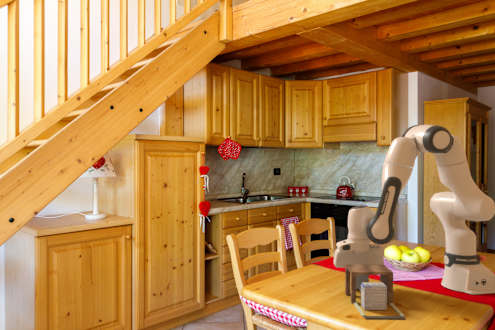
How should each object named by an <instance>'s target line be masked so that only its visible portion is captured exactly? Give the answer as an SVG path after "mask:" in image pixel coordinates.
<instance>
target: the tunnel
mask: <svg viewBox="0 0 495 330" xmlns="http://www.w3.org/2000/svg"><path fill="white" fill-rule="evenodd" d="M344 269H345V270H344V271H345V273H344V274H345V275H344V276H345V277H344V282H345V284H344V285H345V286H344V287H345V289H344V290H345V293H344V294H345V296H350V303H351V304H354V303H357V289H356V275H369V276H373V275H374V276H379V282H383V283H384V284H385V285H386V286H387V303H388V304H389V305H390V303H393V304H394V271H392V270H391V269H390V268H389V267H387V266H386V265H385V264H384V265H345V268H344Z"/></svg>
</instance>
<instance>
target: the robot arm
mask: <svg viewBox="0 0 495 330" xmlns="http://www.w3.org/2000/svg"><path fill="white" fill-rule="evenodd" d="M389 145H390V146H389V148H388V150H387V152H386V154H385V158H384V162H383V167H382V172H381V194H380V198H379V201H378V205H377V208H376V210H374V209H373V208H370V207H369V206H368V205H355V206H353V207H351V208H350V209H349V211H348V215H347V228H348V229H347V230H348V234H347V239H344V240H341V241H338V242H336V244H335V245H336V249H335V250H334V253H333V265H334V267H335V268H337V269H339V268H341V269H343V268H344V269H345V265H385V258H384V254H385V248H384V246H383V245H386V244H388V243H390V242H391V241H392V240H393V238H394V237H395V230H394V229H395V224H394V216H395V211H396V208H397V204H398V201H399V198H400V195H401V194H402V192H403V190H404V189H405V187H406V185H407V184H408V182H409V181H410V178H411V175H412V173H413V170H414V167H415V161H416V159H417V157H418V156H419V155H420V154H421V153H431V154H433V155H434V158H435V164H436V168H437V172H438V178H439V181H440V182H441V184H442V185H443V186H445V187H446V188H448V189H449V190H450V191H440V192H436V193H435V192H434V194H433V195H432V196H431V198H430V199H429V200H430V201H429V207H430V210H431V211H432V213H434V214H435V215H436V217H437V218H438V219H439V221H440V223H441V226H442V227H443V231H444V235H445V251H444V253H443V254H444V256H443V262H444V271H443V276H442V280H441V283H440V284H441V286H443V288H447V289H449V290H452V291H455V292H461V293H465V294H469V295H485V294H495V273H494V272H493V271H492V270H490V269H489V268H488V267H487V266H485V265H484V264H483V263H482V262H486V261H487V257H486V256H484V255H479V254H478V253H477V235H476V234H475V232H474V231H473V230H472V229H471V228H469V227H468V226H467V224H466V222H465V221H470V222H486V221H490V220H492V219H493V217H494V216H495V201H494V200H493V198H492V197H490V196H488V195H487V194H486V193H484V192H483V191H482V190H481V189H480V188H479V187H478V185H477V184H476V182H475V181H474V179H473V178H472V177H473V176H472V175H471V171H470V167H469V163H468V159H467V155H466V151H465V148H464V146H463V143H462V141H461V139H460V137H458V135H455V134H452V133H451V132H450V131H449V129H447V128H446V127H445V126H441V125H437V124H420V125H419V124H415V125H411V126H410V127H408V128H406V130H405V131H404V132H403V134H402V135H401V136H399V137H398V136H397V137H396V138H394V139H393V140H392V141H391V144H389ZM371 242H372V243H374V244H371ZM481 261H482V262H481Z"/></svg>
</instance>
